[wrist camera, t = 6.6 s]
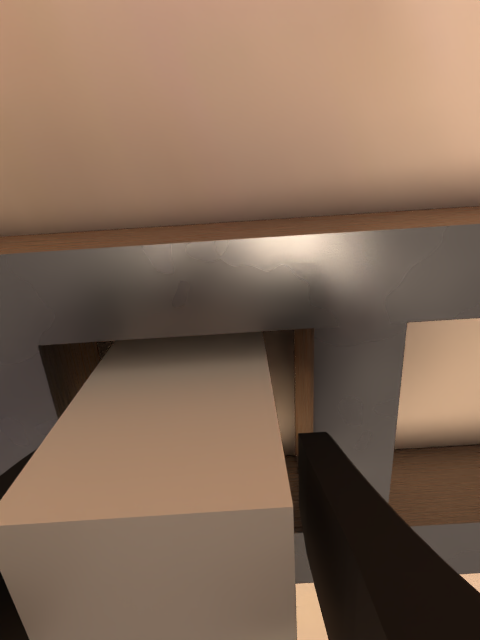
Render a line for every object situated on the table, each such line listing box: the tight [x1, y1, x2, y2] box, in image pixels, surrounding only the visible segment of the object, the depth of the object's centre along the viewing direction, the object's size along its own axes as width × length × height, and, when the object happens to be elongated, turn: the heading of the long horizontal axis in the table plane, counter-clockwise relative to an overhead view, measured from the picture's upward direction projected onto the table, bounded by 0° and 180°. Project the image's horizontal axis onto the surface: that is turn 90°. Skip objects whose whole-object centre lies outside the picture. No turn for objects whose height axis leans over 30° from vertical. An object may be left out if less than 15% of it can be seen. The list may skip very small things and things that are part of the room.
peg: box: [0, 331, 297, 640], centre depth 9 cm, size 4×4×7 cm
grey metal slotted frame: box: [0, 206, 480, 584], centre depth 11 cm, size 26×10×3 cm, turn 93°
